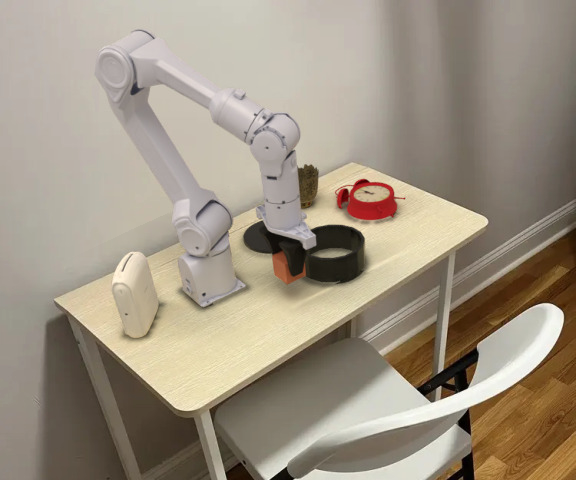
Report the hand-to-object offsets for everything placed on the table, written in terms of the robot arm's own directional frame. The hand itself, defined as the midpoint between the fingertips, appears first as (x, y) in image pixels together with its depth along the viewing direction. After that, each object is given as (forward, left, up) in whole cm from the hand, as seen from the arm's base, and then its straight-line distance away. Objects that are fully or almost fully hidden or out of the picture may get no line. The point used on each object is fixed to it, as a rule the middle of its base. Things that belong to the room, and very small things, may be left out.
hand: (289, 268), depth 117 cm
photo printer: (-23, +13, -7) cm, 28 cm away
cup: (+22, +27, -7) cm, 35 cm away
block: (0, 0, -1) cm, 1 cm away
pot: (+12, +4, -7) cm, 14 cm away
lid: (+10, +20, -6) cm, 23 cm away
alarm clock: (+31, +17, -7) cm, 36 cm away
